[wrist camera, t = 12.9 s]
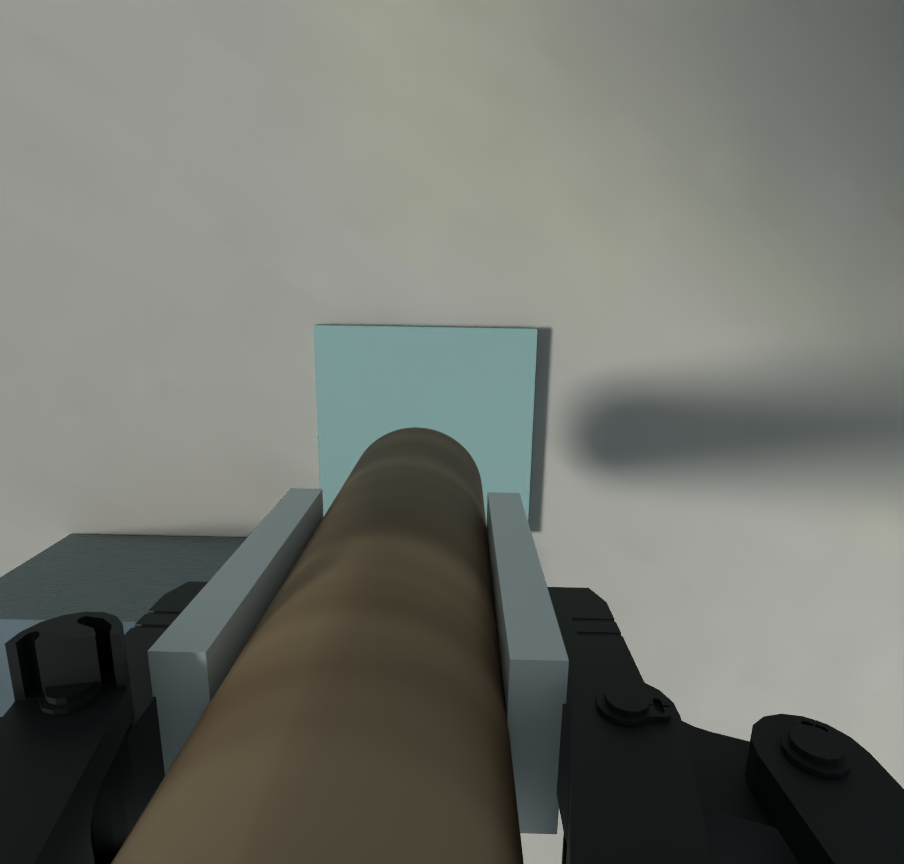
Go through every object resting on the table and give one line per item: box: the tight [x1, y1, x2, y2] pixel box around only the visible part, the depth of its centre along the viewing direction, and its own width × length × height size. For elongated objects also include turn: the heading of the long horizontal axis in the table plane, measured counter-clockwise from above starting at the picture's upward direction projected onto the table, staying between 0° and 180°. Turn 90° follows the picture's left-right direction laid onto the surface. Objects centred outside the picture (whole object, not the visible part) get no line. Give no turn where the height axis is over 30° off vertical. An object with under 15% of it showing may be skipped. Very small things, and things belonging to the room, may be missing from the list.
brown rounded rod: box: [111, 427, 523, 864], centre depth 10 cm, size 4×4×16 cm
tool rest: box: [314, 325, 538, 526], centre depth 25 cm, size 9×9×1 cm
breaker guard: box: [0, 534, 248, 717], centre depth 24 cm, size 13×13×7 cm
